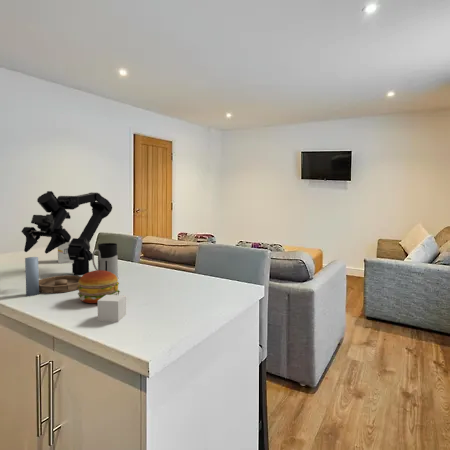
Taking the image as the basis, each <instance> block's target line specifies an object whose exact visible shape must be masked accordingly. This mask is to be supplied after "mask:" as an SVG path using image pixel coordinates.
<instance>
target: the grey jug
mask: <svg viewBox="0 0 450 450" xmlns="http://www.w3.org/2000/svg"><path fill="white" fill-rule="evenodd" d="M96 252H97V266H96V263H95V253H96ZM118 258H119V256H118V244H117V243H115V242H114V243H113V242H103V243H98V244H97V249H94V250H93V251H92V260H91V261H92V265H93V268H94V270H95V271H96V270H104V271H109V272H111V273H113V274H115V275H116V277H117V279H119V280H120V278H119V276H118V275H119V273H118V271H119V265H118V260H119V259H118Z"/></svg>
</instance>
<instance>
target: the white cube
mask: <svg viewBox="0 0 450 450" xmlns="http://www.w3.org/2000/svg"><path fill="white" fill-rule="evenodd" d="M126 315H127V295H123V294H119V295H118V294H117V295H105V296H104V297H102V298H101V299H99V300H98V303H97V322H107V321H113V323H116V322H117V323H119V322H120V321H121V320H122V319H123V318H124V317H126Z"/></svg>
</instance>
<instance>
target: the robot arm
mask: <svg viewBox="0 0 450 450" xmlns="http://www.w3.org/2000/svg"><path fill="white" fill-rule="evenodd" d="M36 202H37V203H38V204H39V206H41V208H42V209H43V210H44V211H45V212H46V213H47V214H45V215H44V214H43V215H42V214H33V215H32V217H31V220H30V224H34V225H36V227H37V229H36V228H35V227H34V226H24V227H22V230H21V231H20V232H21V233H22V234H23V235H24V237H25V244H24V250H23V251H24V252H25V253H27V252H29V251H30V250H31V249H32V248H33V247H35V245H36V244H38V242H39V241H38V240H40V238H41V237H46V238H50V241H49V242H48V243H47V245H46V247H45V250H44V253H45V254H49V253H50V252H52V251H54V250H55V249H58V246H60V245H62V244H65V243H66V242H69V241H70V239H72V240H71V243H70V244H69V245H68V246H69V247H68V249H67V252H68V255H69V259H70V260H74V262H73V263H72V264H71V265H72V266H71V267H72V268H71V269H72V274H73V276H81V275H82V276H83V275H84V274H86V273H88V272H90V262H91V261H92V254H93V252H91V250H90V249H91V244H90V242H91V240H92V239H93V237H94V235H95V233H96V232H97V230H98V228H99V226H100V224H101V222H102V221H103V220H104V218H107V217H108V216H109V215H110V214H111V212H112V210H113V205H112V203H111V202H110V201H109V200H108V199H106V198H105V196H102V195H101V194H100V193H99V192H88V193H84V194H78V195H59V196H58V197H57V196H56V195H55V193H54V192H53V191H52V190H51V191H50V190H48V191H46V192H45V193H43V194H41V195H39V196H38V198H37V200H36ZM84 204H89V206H90V207H91V213H92V215H91V216H90V218H89V220H88V221H87V223H86V225H85V227H84V228H83V230H82V232H81V234H80V235H79V236H78V238H72V236H71V234H70V233H69V231H68V230H66V228H64V226H63V223H64V221H65V220H66V219H67V220H68V219H69V220H71V215H70V212H69V211H67V210H75V209H77V208H78V207H80V206H81V205H84ZM48 213H49V214H48Z"/></svg>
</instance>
